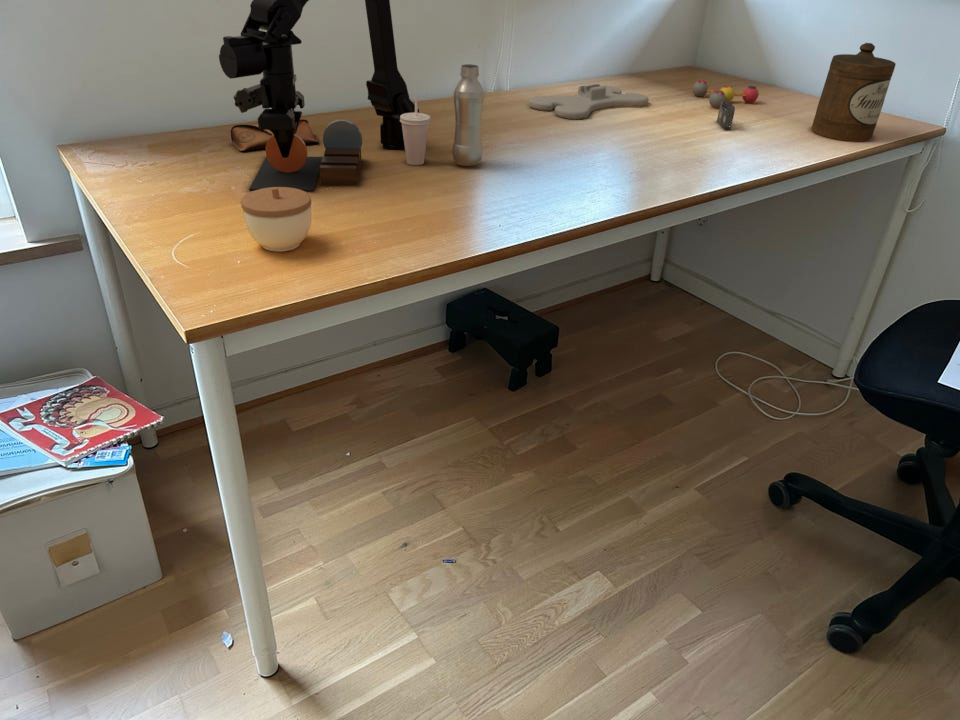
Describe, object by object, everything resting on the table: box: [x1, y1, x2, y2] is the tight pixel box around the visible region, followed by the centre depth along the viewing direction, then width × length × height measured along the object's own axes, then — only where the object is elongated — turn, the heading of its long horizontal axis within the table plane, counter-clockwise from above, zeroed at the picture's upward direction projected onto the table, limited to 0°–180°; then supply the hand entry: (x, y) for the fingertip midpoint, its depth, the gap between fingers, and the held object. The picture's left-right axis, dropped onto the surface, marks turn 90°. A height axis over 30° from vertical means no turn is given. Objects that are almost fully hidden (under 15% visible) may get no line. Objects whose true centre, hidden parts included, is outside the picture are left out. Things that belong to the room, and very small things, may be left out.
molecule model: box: [692, 79, 760, 109], centre depth 214 cm, size 18×17×5 cm
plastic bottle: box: [451, 63, 485, 167], centre depth 152 cm, size 6×7×20 cm
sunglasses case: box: [230, 118, 319, 152], centre depth 164 cm, size 18×7×7 cm
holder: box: [528, 83, 649, 120], centre depth 204 cm, size 19×34×5 cm, turn 130°
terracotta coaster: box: [265, 133, 309, 173], centre depth 145 cm, size 1×8×8 cm, turn 94°
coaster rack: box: [319, 148, 363, 187], centre depth 149 cm, size 16×7×4 cm, turn 5°
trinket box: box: [240, 187, 312, 253], centre depth 117 cm, size 11×11×9 cm
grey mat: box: [248, 155, 323, 192], centre depth 147 cm, size 12×20×1 cm, turn 5°
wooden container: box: [811, 42, 897, 142], centre depth 185 cm, size 15×15×22 cm
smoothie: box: [400, 94, 431, 166], centre depth 153 cm, size 6×6×14 cm
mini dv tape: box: [716, 99, 736, 131], centre depth 191 cm, size 8×2×6 cm, turn 179°
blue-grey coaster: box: [322, 119, 363, 150], centre depth 152 cm, size 1×8×8 cm, turn 95°
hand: (286, 154), depth 145 cm, fingers open, 4 cm apart
